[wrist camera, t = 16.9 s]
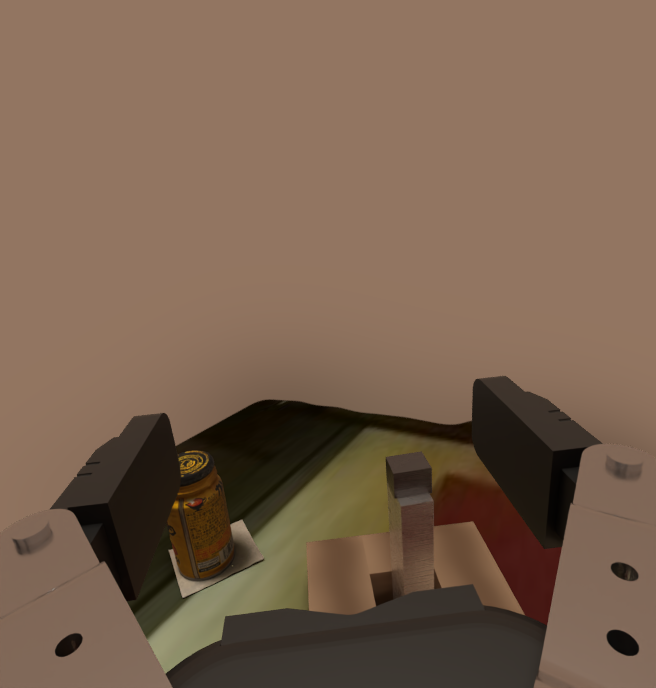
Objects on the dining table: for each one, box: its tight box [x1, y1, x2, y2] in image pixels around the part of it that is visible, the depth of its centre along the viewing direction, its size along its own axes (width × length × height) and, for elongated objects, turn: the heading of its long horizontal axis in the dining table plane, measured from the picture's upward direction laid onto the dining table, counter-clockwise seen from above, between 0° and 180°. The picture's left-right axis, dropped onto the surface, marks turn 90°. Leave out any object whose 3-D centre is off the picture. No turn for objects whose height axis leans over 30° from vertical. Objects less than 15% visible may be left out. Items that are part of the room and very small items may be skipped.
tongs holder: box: [307, 522, 524, 615], centre depth 35 cm, size 16×16×5 cm
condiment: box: [167, 451, 264, 598], centre depth 46 cm, size 7×8×12 cm
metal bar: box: [386, 452, 434, 600], centre depth 33 cm, size 3×4×18 cm, turn 8°
